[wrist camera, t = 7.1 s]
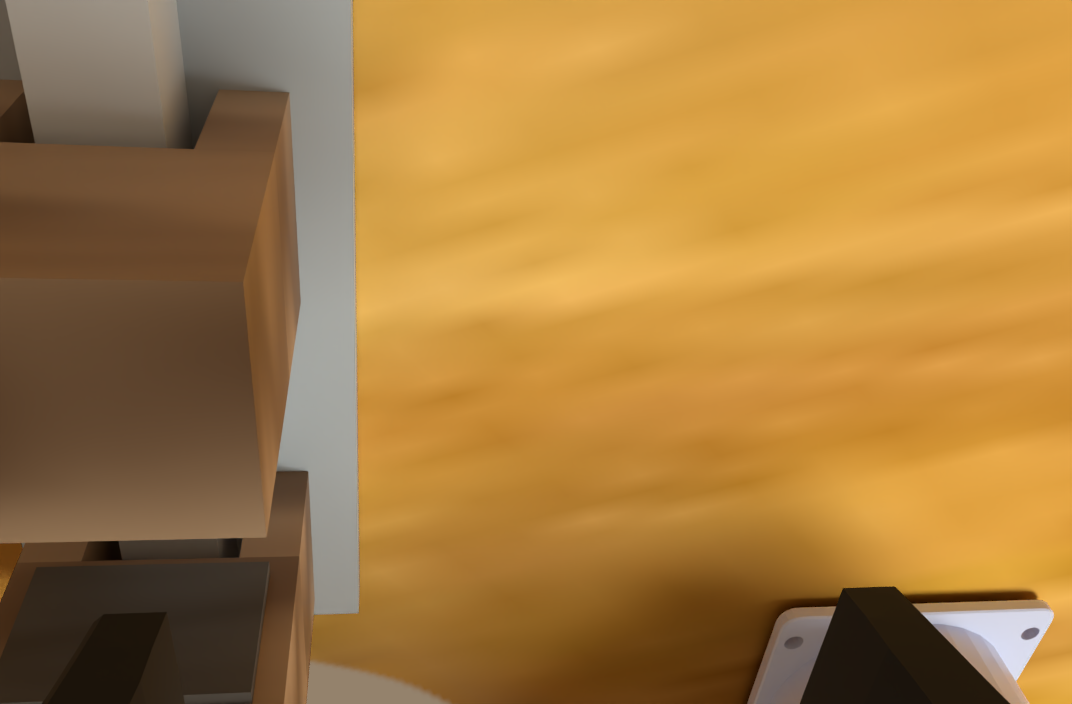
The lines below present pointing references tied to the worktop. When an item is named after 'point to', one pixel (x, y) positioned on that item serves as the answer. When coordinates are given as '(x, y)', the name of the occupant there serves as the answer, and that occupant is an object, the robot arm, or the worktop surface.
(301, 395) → the rail
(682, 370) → the worktop surface
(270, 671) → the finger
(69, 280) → the brown notched block
